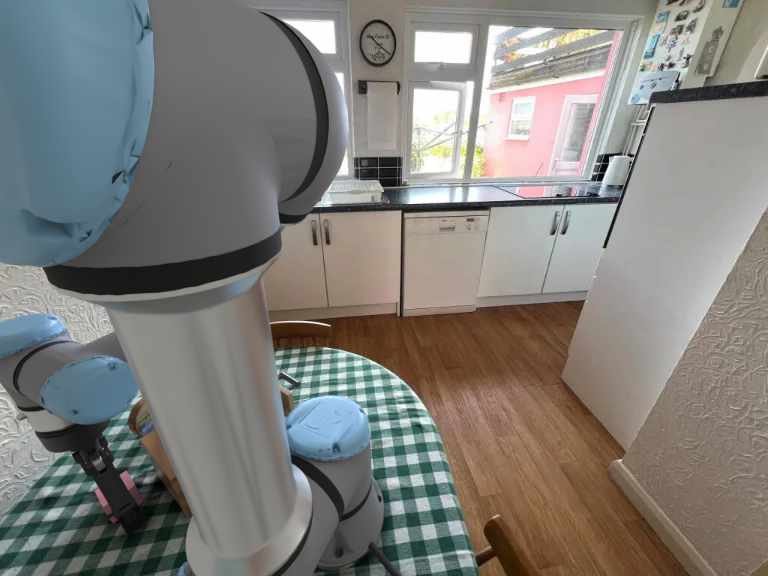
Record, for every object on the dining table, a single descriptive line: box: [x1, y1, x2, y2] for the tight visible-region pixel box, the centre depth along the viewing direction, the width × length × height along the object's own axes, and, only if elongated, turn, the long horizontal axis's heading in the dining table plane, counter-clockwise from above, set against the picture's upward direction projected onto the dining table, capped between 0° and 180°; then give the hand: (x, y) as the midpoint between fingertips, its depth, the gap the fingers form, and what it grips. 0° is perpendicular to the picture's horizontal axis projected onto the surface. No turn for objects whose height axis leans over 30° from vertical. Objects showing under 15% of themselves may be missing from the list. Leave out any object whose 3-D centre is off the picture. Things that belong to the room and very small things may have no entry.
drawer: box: [278, 371, 301, 419], centre depth 68 cm, size 18×12×8 cm, turn 144°
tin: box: [127, 397, 156, 437], centre depth 71 cm, size 15×3×8 cm, turn 168°
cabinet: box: [139, 430, 192, 518], centre depth 60 cm, size 15×13×10 cm
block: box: [94, 470, 145, 524], centre depth 54 cm, size 4×4×4 cm
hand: (122, 501), depth 55 cm, fingers open, 13 cm apart
